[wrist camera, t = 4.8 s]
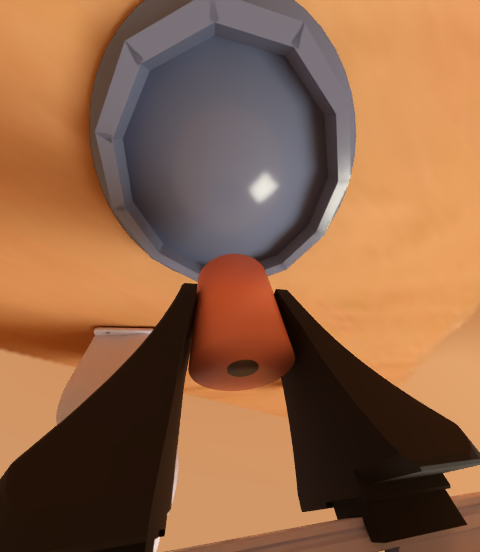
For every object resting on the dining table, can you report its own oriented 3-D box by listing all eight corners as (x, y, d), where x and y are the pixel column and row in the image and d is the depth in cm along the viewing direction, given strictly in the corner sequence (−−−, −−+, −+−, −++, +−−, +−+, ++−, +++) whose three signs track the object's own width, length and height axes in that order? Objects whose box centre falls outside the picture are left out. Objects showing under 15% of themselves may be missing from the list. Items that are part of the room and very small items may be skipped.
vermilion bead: (197, 305, 12) (188, 394, 8) (198, 250, 10) (187, 337, 6) (258, 307, 13) (278, 390, 9) (274, 256, 10) (311, 337, 6)
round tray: (123, 273, 18) (115, 287, 17) (35, -95, 7) (-12, -154, 6) (299, 285, 21) (305, 297, 20) (411, 42, 11) (445, 28, 9)
